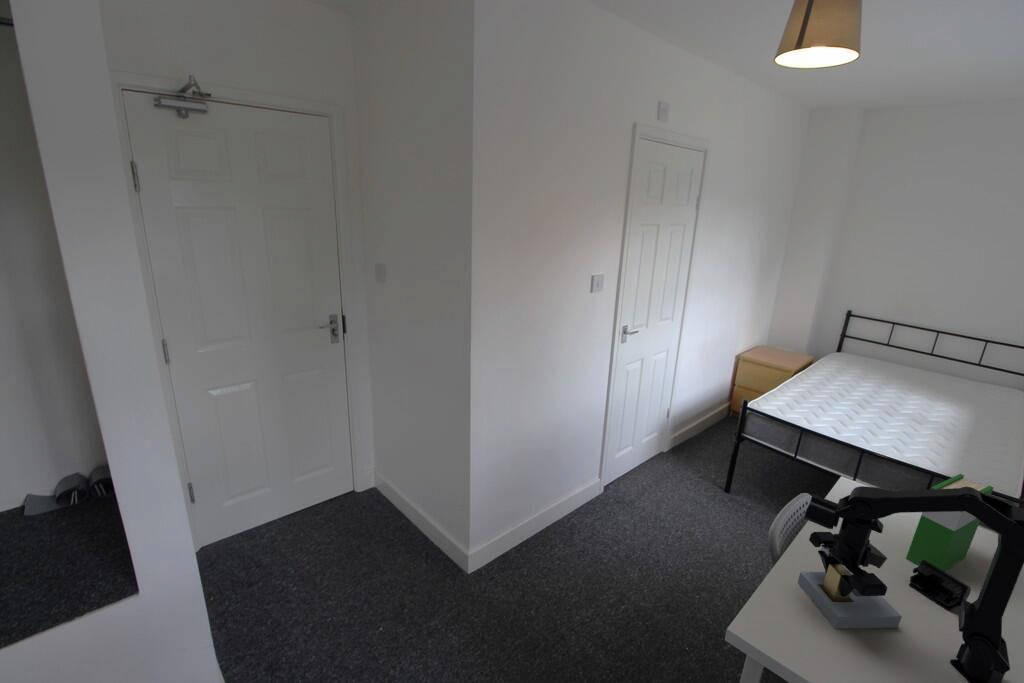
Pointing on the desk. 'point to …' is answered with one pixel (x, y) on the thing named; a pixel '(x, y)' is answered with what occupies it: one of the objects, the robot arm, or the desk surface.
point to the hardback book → (945, 531)
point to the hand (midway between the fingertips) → (836, 589)
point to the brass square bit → (835, 583)
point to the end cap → (939, 586)
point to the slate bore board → (849, 606)
